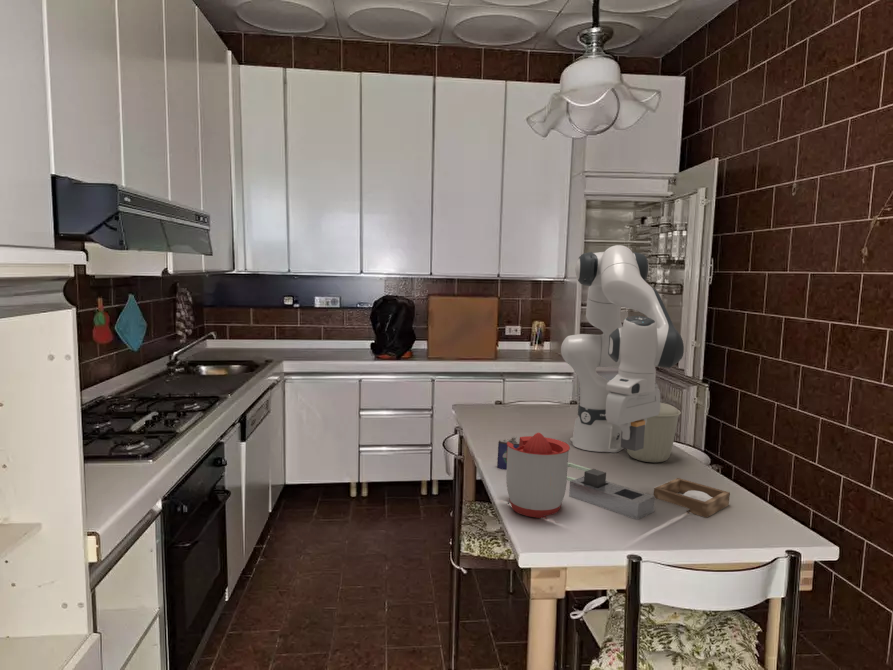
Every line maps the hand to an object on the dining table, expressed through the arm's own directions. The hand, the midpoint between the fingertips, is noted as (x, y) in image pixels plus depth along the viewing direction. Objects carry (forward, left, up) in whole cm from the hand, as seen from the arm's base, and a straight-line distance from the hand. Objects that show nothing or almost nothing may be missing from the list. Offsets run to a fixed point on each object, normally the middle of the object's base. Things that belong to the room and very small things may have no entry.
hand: (632, 437), depth 155 cm
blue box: (-2, -40, -20) cm, 45 cm away
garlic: (-20, +9, -20) cm, 30 cm away
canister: (-48, -21, -20) cm, 56 cm away
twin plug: (0, -10, -19) cm, 21 cm away
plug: (0, 0, -3) cm, 3 cm away
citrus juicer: (+17, -17, -20) cm, 31 cm away
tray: (-12, -25, -20) cm, 34 cm away
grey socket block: (0, -5, -20) cm, 20 cm away
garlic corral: (-20, +7, -20) cm, 29 cm away
